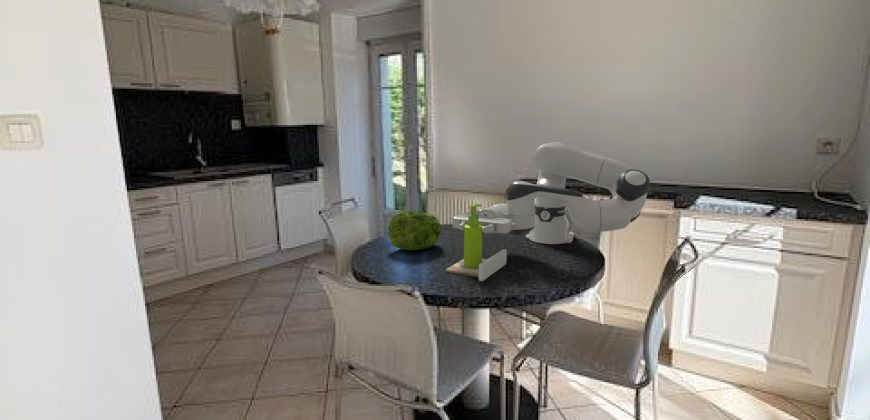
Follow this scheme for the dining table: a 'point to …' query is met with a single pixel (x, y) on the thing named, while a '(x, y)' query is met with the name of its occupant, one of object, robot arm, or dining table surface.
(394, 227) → the lettuce
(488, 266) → the low wall
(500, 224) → the robot arm
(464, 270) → the oak board
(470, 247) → the soap dispenser
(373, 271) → the dining table surface
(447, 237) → the dining table surface
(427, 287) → the dining table surface
